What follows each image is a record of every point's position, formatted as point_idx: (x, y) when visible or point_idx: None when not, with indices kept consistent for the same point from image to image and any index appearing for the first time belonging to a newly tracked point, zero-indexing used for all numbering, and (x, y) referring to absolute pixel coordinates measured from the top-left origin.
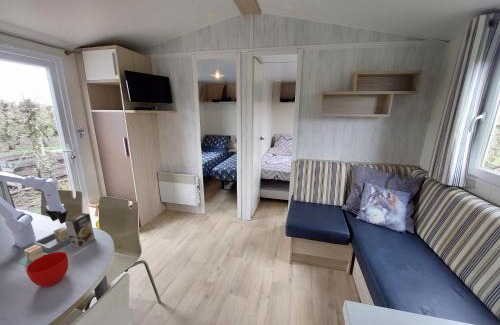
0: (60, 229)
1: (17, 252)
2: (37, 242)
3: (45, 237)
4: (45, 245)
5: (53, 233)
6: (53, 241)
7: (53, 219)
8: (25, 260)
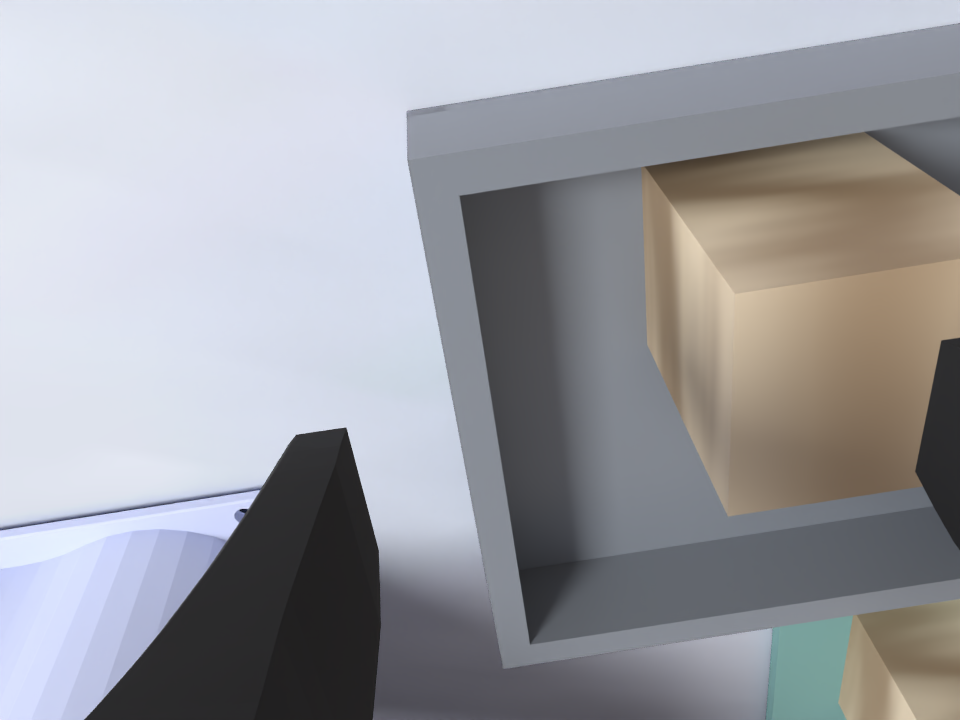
0: (840, 399)
1: (423, 715)
2: (591, 636)
3: (509, 521)
4: (863, 593)
5: (482, 389)
6: (645, 390)
7: (375, 601)
8: (807, 713)
